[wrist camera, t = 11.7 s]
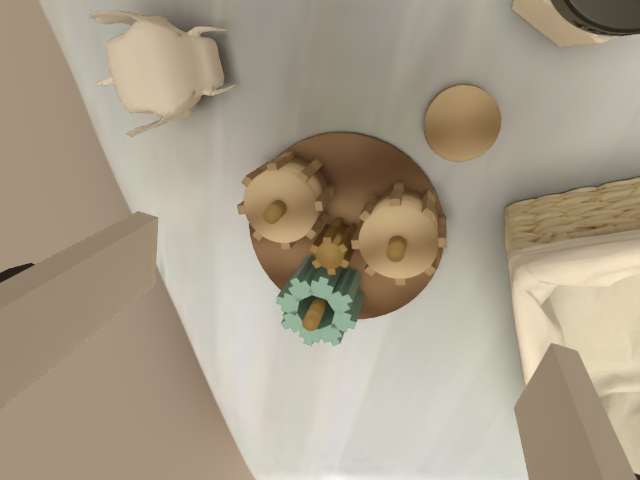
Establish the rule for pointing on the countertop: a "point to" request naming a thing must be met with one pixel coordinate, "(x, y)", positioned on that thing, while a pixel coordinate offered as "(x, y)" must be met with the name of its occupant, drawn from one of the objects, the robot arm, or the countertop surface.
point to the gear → (329, 287)
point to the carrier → (347, 218)
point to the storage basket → (582, 291)
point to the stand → (462, 122)
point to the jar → (581, 19)
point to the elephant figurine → (160, 66)
